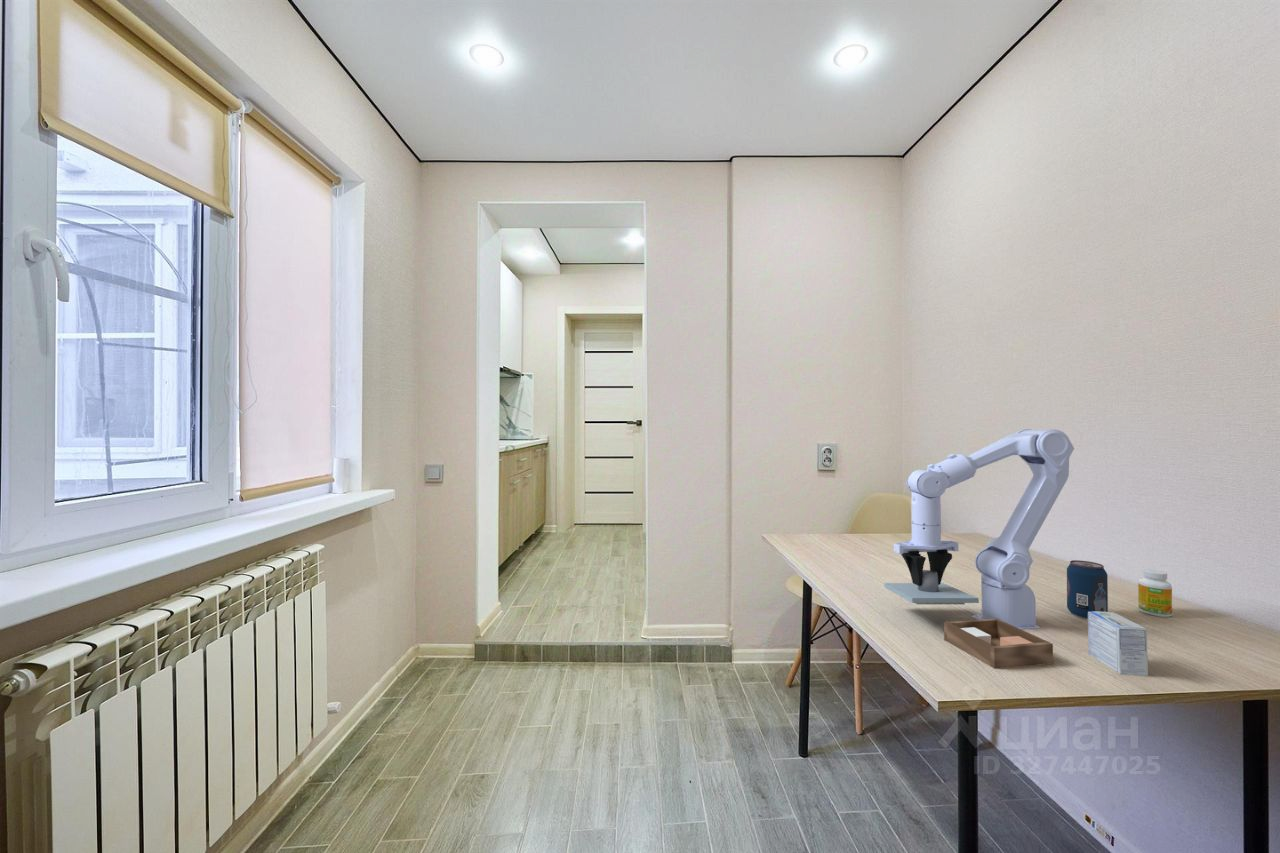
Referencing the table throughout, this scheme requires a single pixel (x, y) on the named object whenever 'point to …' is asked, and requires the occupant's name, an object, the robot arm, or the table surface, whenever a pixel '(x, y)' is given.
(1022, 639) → the terracotta block
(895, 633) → the table surface
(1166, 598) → the supplement bottle
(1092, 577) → the soda can
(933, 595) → the lid
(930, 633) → the table surface
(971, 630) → the off-white block
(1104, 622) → the medicine box
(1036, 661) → the storage box
